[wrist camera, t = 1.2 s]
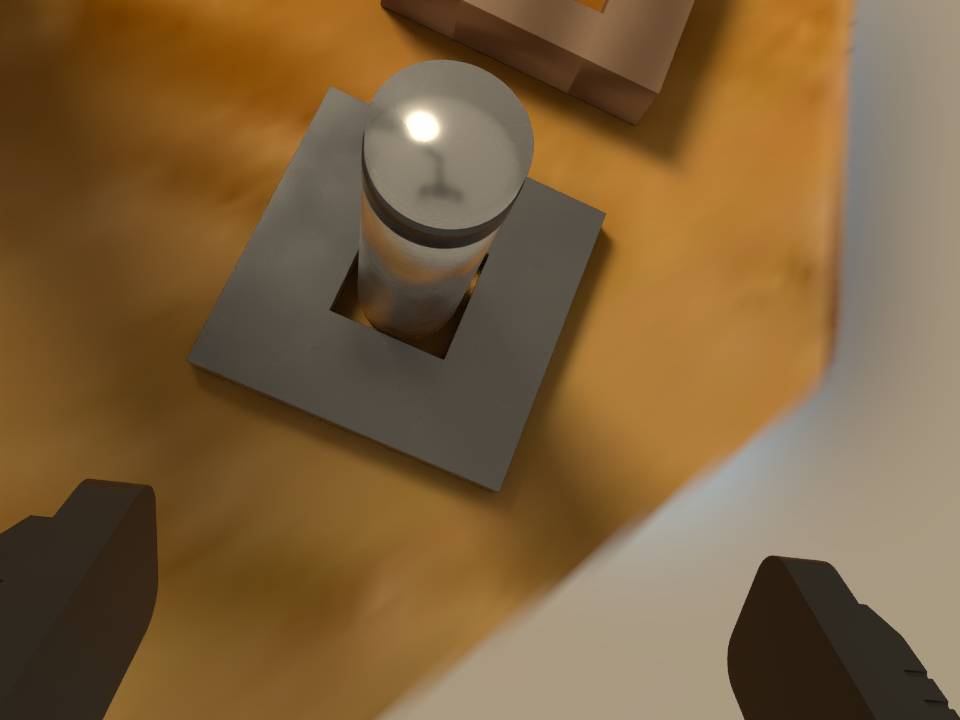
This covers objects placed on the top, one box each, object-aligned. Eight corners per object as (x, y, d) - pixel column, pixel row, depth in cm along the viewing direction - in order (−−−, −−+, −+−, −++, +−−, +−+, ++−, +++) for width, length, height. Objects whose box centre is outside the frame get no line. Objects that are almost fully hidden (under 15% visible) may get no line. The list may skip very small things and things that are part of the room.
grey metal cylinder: (338, 314, 28) (333, 171, 17) (381, 223, 29) (404, 30, 18) (437, 357, 29) (499, 246, 17) (476, 265, 30) (559, 103, 18)
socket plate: (192, 365, 27) (186, 360, 26) (330, 100, 30) (330, 86, 29) (493, 493, 28) (499, 492, 27) (598, 222, 31) (606, 213, 30)
